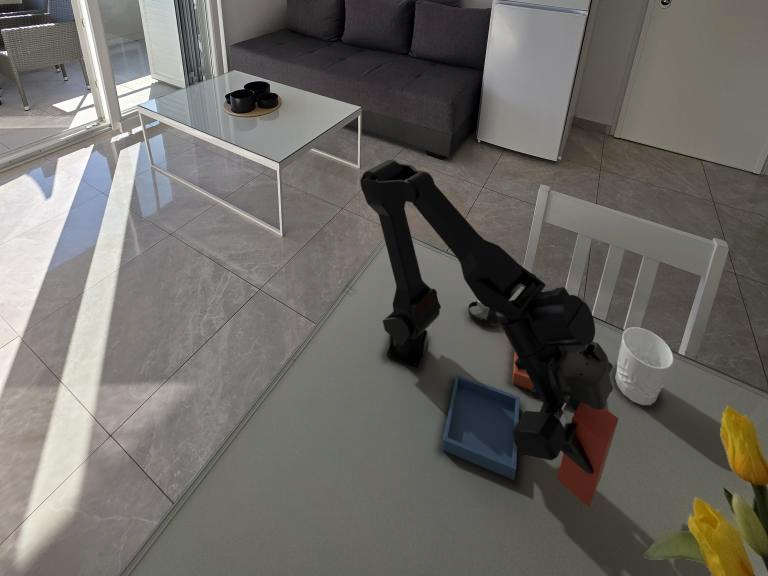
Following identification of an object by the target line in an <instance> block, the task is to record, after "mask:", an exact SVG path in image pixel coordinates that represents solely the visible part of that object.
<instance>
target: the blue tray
mask: <svg viewBox="0 0 768 576" xmlns="http://www.w3.org/2000/svg"><path fill="white" fill-rule="evenodd" d="M520 398H521V397H520V396H519V395H515V394H513V393H511V392H507V391H505V390H502V389H499V388H497V387H494V386H492V385H489V384H485V383H482V382H480V381H477V380H475V379H471V378H469V377H465V376H463V375H460V374H455V378H454V382H453V388H452V393H451V398H450V404H449V409H448V414H447V417H446V424H445V428H444V434H443V438H442V439H443V440H442V446H441V447H442V448H441V450H442V451H444V452H445V453H448V454H451V455H453V456H455V457H458V458H459V459H460V458H461V459H462V460H465V461H467V462H470V463H472V464H475V465H477V466H479V467H482V468H484V469H487V470H489V471H491V472H494V473H496V474H498V475H501V476H503V477H506V478H508V479H510V480H512V481H514V480H515V477H516V473H517V460H518V458H517V457H518V448H517V446H516V444H515V442H514V440H513V437H512V435H513V430H514V428H515V427H516V425H517V423H518V422H519V420H520V400H521V399H520Z"/></svg>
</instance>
